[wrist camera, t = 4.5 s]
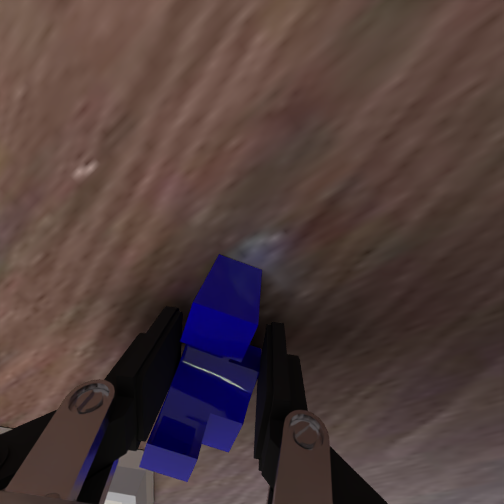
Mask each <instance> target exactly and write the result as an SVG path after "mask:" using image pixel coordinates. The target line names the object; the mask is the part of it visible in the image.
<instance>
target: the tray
mask: <svg viewBox="0 0 504 504" xmlns="http://www.w3.org/2000/svg"><path fill="white" fill-rule="evenodd" d="M9 430H12V429H10V428H4V427H0V434H2V433H5V432H7V431H9ZM143 453H144V451H143V450H137V451H130V450H128V452H127V454H125V455H123V456H122V457H120V458H119V461H118V465H117V467H116V470H115V473H114V476H113V479H112V482H111V485H110V488H109V491H108V494H107V497H106V500H105V503H104V504H154V472H153V471H150V470H147V469H144V468H140V467H139V465H140V462H141V459H142V456H143Z"/></svg>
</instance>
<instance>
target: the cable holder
mask: <svg viewBox="0 0 504 504" xmlns="http://www.w3.org/2000/svg"><path fill="white" fill-rule="evenodd" d="M261 277H262V270H261V269H258V268H255V267H253V266H250V265H247V264H244V263H242V262H239V261H236V260H233V259H231V258H228V257H225V256H222V255H220V254H219V255H218V257H217V259H216V261H215V263H214V265H213V266H212V268H211V270H210V272H209V274H208V276H207V277H206V279H205V281H204V283H203V285H202V287H201V288H200V290H199V292H198V294H197V296H196V297H195V299H194V301H193V304H192V307H191V310H190V313H189V316H188V319H187V322H186V325H185V328H184V331H183V334H182V337H181V340H180V342H182V343H185V344H186V345H185V348H184V351H183V354H182V357H181V359H180V362H179V365H178V368H177V370H176V373H175V375H174V378H173V381H172V383H171V386H170V388H169V391H168V393H167V396H166V398H165V401H164V403H163V406H162V408H161V411H160V413H159V416H158V418H157V420H156V423H155V425H154V428H153V430H152V432H151V435H150V437H149V439H148V441H147V444H146V447H145V450H144V453H143V456H142V459H141V462H140V465H139V467H140V468H144V469H147V470H150V471H153V472H157V473H160V474H163V475H166V476H170V477H173V478H176V479H179V480H183V481H186V482H188V479H189V477H190V475H191V473H192V471H193V468H194V466H195V464H196V462H197V459H198V456H199V452H200V448H201V444H204V445H207V446H210V447H213V448H216V449H220V450H223V451H226V452H229V451H230V449H231V447H232V445H233V443H234V441H235V439H236V437H237V435H238V433H239V431H240V429H241V427H242V425H243V423H244V419H245V415H246V411H247V407H248V404H249V401H250V398H251V395H252V392H253V389H254V386H255V384H256V381H257V379H258V377H259V372H260V359H261V349H260V348H258V347H255V346H252V345H249V344H250V342H251V340H252V338H253V336H254V333H255V331H256V329H257V327H258V321H259V307H260V292H261Z"/></svg>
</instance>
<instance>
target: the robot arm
mask: <svg viewBox="0 0 504 504" xmlns="http://www.w3.org/2000/svg"><path fill="white" fill-rule="evenodd" d="M182 319H183V313H182V312H180V311H179V308H175V307H168V306H166V307H165V308H164V309H163V311H162V312H161V313H160V315H159V316H158V318H157V319H156V320H155V322H154V323H153V325H152V326H151V327H150V329H149V330H148V332H147V333H140V334H139V335H138V336H137V337H136V338H135V340H134V341H133V342H132V344H131V345H130V346H129V348H128V349H127V350H126V352H125V353H124V354H123V356H122V357H121V358H120V360H119V361H118V362H117V364H116V365H115V366H114V367H113V369H112V370H111V371H110V373H109V374H108V375H107V377H106V378H105V379H104V380H100V379H99V380H91V381H88V382H85V383H83V384H81V385H79V386H77V387H76V388H75V389H73V390H72V391H71V392H70V393H69V394H68V395H67V396H66V397H65V399H64V400H63V402H62V403H61V405H60V406H59V408H58V409H57V410H55V411H53V412H51V413H48V414H46V415H44V416H41V417H39V418H37V419H34V420H32V421H30V422H28V423H25V424H23V425H21V426H18V427H16V428H14V429H12V430H9V431H7V432H5V433H2V434H0V504H104V503H105V500H106V497H107V494H108V491H109V488H110V485H111V482H112V479H113V476H114V473H115V470H116V467H117V465H118V461H119V458H120V457H122V456H123V455H125V454H127V452H128V450H130V451H137V449H138V447H139V445H140V442H141V441H144V442H145V441H146V440H147V438H148V436H149V433H150V431H151V429H152V427H153V424H154V422H155V420H156V417H157V415H158V413H159V411H160V408H161V406H162V404H163V402H164V399H165V397H166V395H167V392H168V390H169V388H170V386H171V383H172V381H173V378H174V375H175V373H176V370H177V368H178V365H179V362H180V359H181V344H182V342H180V340H181V337H182ZM254 458H255V459H259V471H262V476H263V477H264V478H265V480H266V481H267V482H268V484H269V489H268V496H267V503H266V504H388V503H387V502H386V501H385V500H384V499H383V498H382V497H381V496H380V495H379V494H378V493H377V492H376V491H375V490H374V489H373V488H372V487H371V486H370V485H369V484H368V483H367V482H366V481H365V480H364V479H363V478H361V477H360V476H359V475H358V474H357V473H356V472H355V471H354V470H353V469H352V468H351V467H350V466H349V465H348V464H347V463H346V462H345V461H344V460H343V459H342V458H341V457H340V456H339V455H338V454H337V453H336V452H335V451H334V450H333V449H332V448H331V447H330V445H329V435H328V431H327V429H326V427H325V425H324V423H323V422H322V421H321V420H320V419H319V418H318V417H317V416H316V415H314V414H313V413H311V412H308V410H307V403H306V397H305V391H304V384H303V378H302V371H301V365H300V359H299V356H295V355H288V354H287V351H286V340H285V329H284V323H278V322H272V323H271V325H269V324H267V326H266V331H265V337H264V342H263V348H262V354H261V359H260V372H259V377H258V383H257V402H256V422H255V441H254Z"/></svg>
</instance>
